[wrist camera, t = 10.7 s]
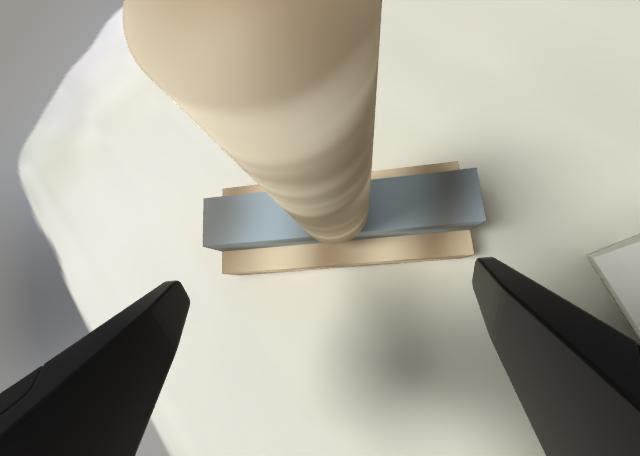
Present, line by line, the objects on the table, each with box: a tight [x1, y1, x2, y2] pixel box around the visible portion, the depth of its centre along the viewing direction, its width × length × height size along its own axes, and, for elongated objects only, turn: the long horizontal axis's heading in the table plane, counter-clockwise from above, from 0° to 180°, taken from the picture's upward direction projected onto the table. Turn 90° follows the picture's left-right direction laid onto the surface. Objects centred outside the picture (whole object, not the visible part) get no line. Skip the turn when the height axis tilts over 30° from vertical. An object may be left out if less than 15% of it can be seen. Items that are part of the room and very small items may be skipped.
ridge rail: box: [203, 161, 486, 275], centre depth 19 cm, size 16×6×5 cm, turn 94°
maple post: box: [123, 0, 382, 244], centre depth 11 cm, size 4×4×13 cm
